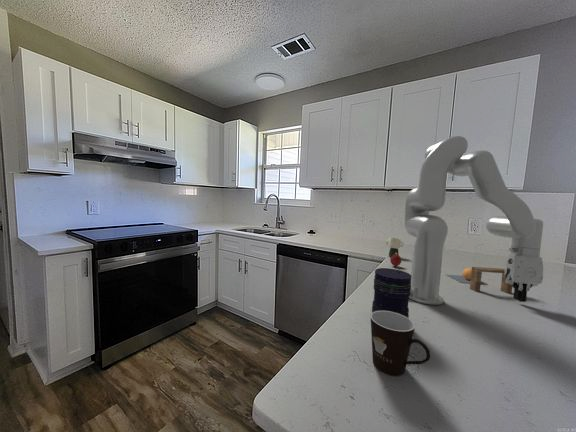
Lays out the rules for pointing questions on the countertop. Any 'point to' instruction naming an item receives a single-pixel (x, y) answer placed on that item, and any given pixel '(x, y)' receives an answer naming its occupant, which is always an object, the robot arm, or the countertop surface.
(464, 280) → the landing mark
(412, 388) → the countertop surface
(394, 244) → the character mug
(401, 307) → the storage jar
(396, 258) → the onion
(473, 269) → the bridge
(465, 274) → the ball
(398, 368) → the coffee mug
